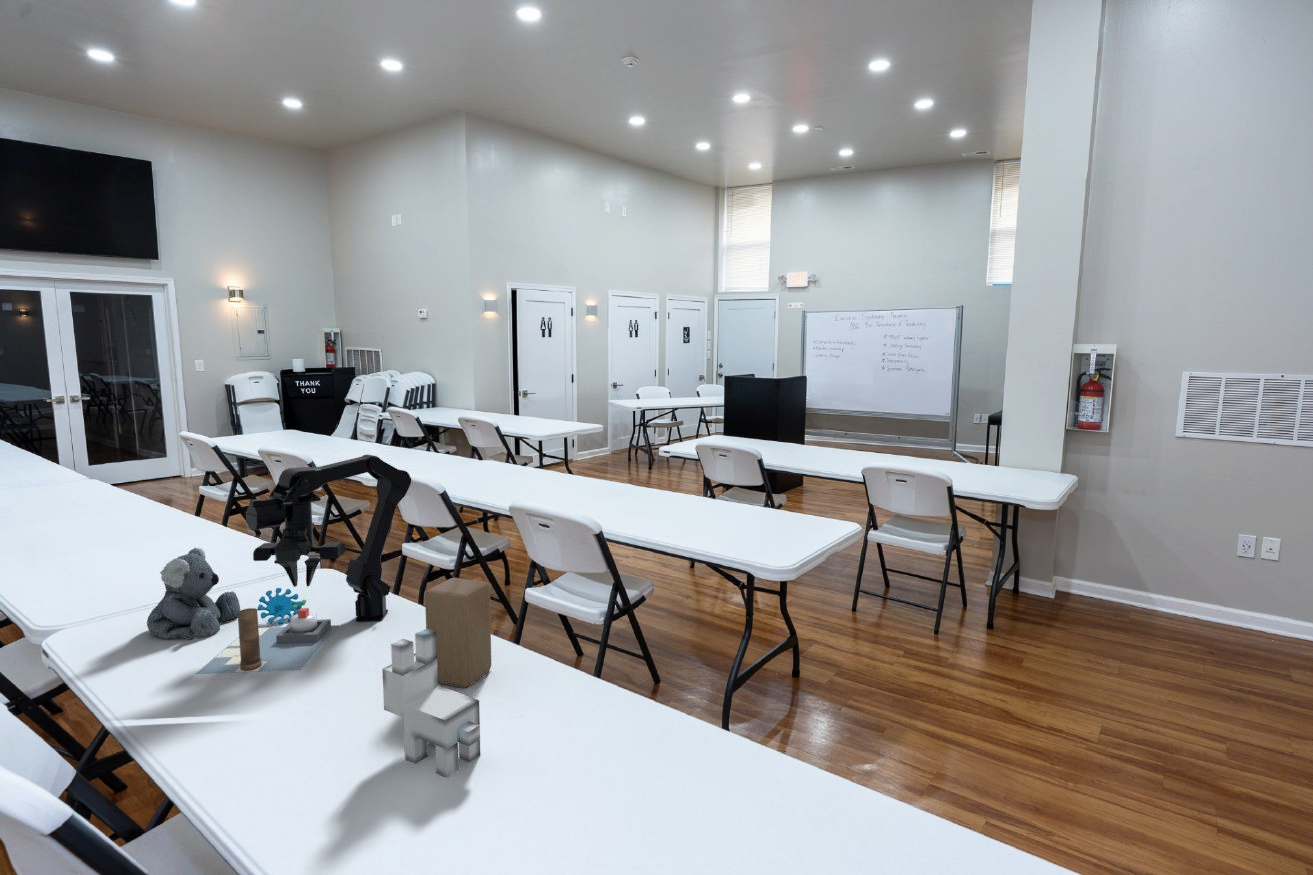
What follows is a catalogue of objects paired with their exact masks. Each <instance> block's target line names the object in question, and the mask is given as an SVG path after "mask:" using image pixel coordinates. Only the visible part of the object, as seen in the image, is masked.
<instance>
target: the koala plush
mask: <svg viewBox="0 0 1313 875" xmlns="http://www.w3.org/2000/svg"><path fill="white" fill-rule="evenodd" d="M206 558H207V557H206V552H205V550H204V549H203V548H202V547H193V549H190V550H189V551H188V553H187V554H186V553H185V554H183V555H180V556H178V557H176V558H173V559H172V560H170V561H168V563H166V564H165V565H164V566H163V569H162V570H161V571H160V572H159V574H160V575H161V576H160V579H161V581H162V582H163V584H164V588H165V591H164V592H165V593H164V596H163V598H162V599H161V600H160V601H159V602H158V604H157V605H156V606H155V607H154V608H153V609H152V610H151V611H150V613H149V615H148V617H147V619H146V627H147V629H148V630H149V632H150V633H151V635H152V636H155V637H157V638H160V639H165V640H168V639H169V640H171V639H173V638H174V639H176V638H177V639H178V638H181V639H184V640H185V639H186V640H194V639H195V638H197V639H198V638H207V637H209V636H214V635H216V634H217V633H218V632H220V629H221V627H220V626H221V625H220V623H223V622H226V621H232V620H234V619H235V618H237V619H238V612H239V611H241V604H240V600H239V598H238V596H237V594H236V592H235V591H234V590H232V591H224V592H223V593H222V594H220V595H219V596H218V597H217V599H216V601H214V600H213V599H212V598H211V597H210V596H208V595H207V594H208V593H209V592H210V591H211V590H212V589H213V588H214V586H216V585H218V583H219V582H220V577H219V575H218V574H216V573H215V572H214V570H213V568H212V566H211V565H210V564H209V562H208V561H207V560H206Z"/></svg>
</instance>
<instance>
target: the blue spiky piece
mask: <svg viewBox="0 0 1313 875" xmlns="http://www.w3.org/2000/svg"><path fill="white" fill-rule="evenodd" d="M282 590H283V589H282V588H281V587H276V589H275V591H274V592H275V595H274V596H272V594H273V591H272V590H267V591H266V592H265V595H266V597H267V598H268V599H269V600H266V597H265V596H263V595H262V596H261V597H260V598H259V599H258V602H260V603H262V604H259V605H258V606H257V608H256V609H257V612H258V611H262V612H261V613H260V618H261V619H262V620H263V619H265V618H267V617H269V616H273V617H269V618H268V620H267V622H268V623H269V624H271V625H272V624H274V622H275V621H276V619H277V618H279V617H280V618H279V620H278V622H277V624H279V625H284V624H285V616H288V617H287V621H288V622H291V620H290V619H291V617H292V616H293V614H292V612H293V613H294V615H296V614H298V611H299V610H300V609H301V608H302V607H303V606H305V604H306V603H307V600H306V599H302V600H299V595H298V593H294V594H293V595H291V593H292V590H291V589H289V588H286V590H285V592H284V593H282V594H280V593H281V592H282ZM286 595H290V596H286ZM294 600H295V601H294ZM296 600H299V601H296ZM263 604H264V605H266V606H264V605H263ZM263 611H264V612H263ZM266 611H267V612H266Z"/></svg>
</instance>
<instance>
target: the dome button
mask: <svg viewBox="0 0 1313 875" xmlns="http://www.w3.org/2000/svg"><path fill="white" fill-rule="evenodd" d="M290 620H291V621H290V622H291V630H292V631H294V632H304V631H309V630H312V629H314V628H316V627H317V620H318V614H317V613H315V612H312V611H310V608H309V607H303V608H302V607H301V609H300V610H299V611H298V614H296V615H295V614H294V615H292V617H291V619H290Z"/></svg>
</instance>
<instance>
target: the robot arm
mask: <svg viewBox="0 0 1313 875" xmlns="http://www.w3.org/2000/svg"><path fill="white" fill-rule="evenodd" d="M362 474H363V475H364V474H369V476H371V477H372V478H373V479H375V480H376V482H377V483H376V496H377V502H376V505H375V509H374V511H373V515H372V517H371V521H370V524H369V528H368V531H367V534H366V537H365V540H364V543H363V545H362V546H363V547H362V550H361V552H360V554H359V556H358V557H357V558H356V559H353V558H350V559H349V562H348V567H347V570H346V571H345V573H344V575H346V578H345V581H346V583H347V585H348V586H349V587H350V588H352V590H353V592H354V593H356V594H357V596H356V600H355V601H354V603H355V604H354V605H355V617H356V618H355V621H356V622H370V621H371V622H373V621H383V619H384V618H385V617H386V616H387V614H388V612H389V609H387V599H386V598H387V596H388V595H389V594H390V590H391V586H390V585H389V584H387V583H386V582H385V581H384V580H382V576H383V575H382V573H383V566H382V560H381V558H382V555H383V550H384V547H385V545H386V542H387V538H388V535H389V532H390V529H391V525H392V523H393V519H394V516H395V513H396V509H397V507H398V505H399V503H400V502H401V501H402V500H403V499H404V498H405V497H406V495H407V493H408V490H409V489H410V487H411V485H412V477H411V475H410V473H409V472H408V471H407V470H403V469H398V468H396V467H395V466H393V465H391V464H389V463H387V462H386V461H384V460H383V459H381V458H380V457H379V456H378V455H372V454H363V455H361V456H358V457H355V458H351V459H346V460H342V461H337V462H334V463H329V464H325V465H321V466H320V465H319V466H312V467H311V466H301V467H300V466H299V467H290V468H285V469H284V470H282V472H281V474H279V477H278V481H277V483H276V485H275V486H274V488H273V489H272V491H271V492H270V494H269V495H268V497H266V498H261V499H259V498H257V499H256V498H255V499H250V500H249V505H248V507H247V508H246V513H245V520H246V524H247V526H248V528H249V530H251V531H252V532H253V531H259V530H263V529H264V530H265V529H270V528H274V527H279V526H281V525H283V524H282V523H284V528H283V529H282V536H281V538H280V540H279V541H278V542H264V543H262V544H261V545H259V546H257V547H256V548H255V549H253V553H252V559H253V561H254V562H263V561H266V562H267V561H268V560H269V559H270V558H271V557H272V556H275V558H274V559H275V560H274V561H273V563H274V564H275V565H276V564H277V565H280V566H281V567H282V568H283V569H284V571H285V572H286V574H287V576H288V578H289V580H290V582H291V584H292V587H293V588H296V587H297V586H298V581H299V577H298V561H299V560H301V556H305V555H306V556H307V557H308V558H307V559H305V560H304V562H303V563H304V564H305V566H306V568H305V569H306V570H305V572H306V573H305V574H306V575H305V583H306V587H309V586H311V583H312V581H313V578H314V575H315V573H316V570H317V567H318V565H319V564H320V562H321V561H322V560H337V559H339V558H341V557H342V556H343V555H344V554H345V553H346V545H345V543H344V542H343V541H327V542H326V543H324V544H323V545H320V546H316V545H315V544H316V540H315V539H314V531H313V530H314V528H315V522H313V511H312V510H313V508H312V503H313V502H314V503H315V502H319V501H321V500H322V499H321V497H320V496H318V495H316V494H315V492H314V491H317V490H319V489H320V488H322V487H323V486H325V485H326V484H329V483H332V482H335V481H336V482H337V481H340V480H344V479H347V478H352V477H355V476H359V475H362ZM314 545H315V546H314Z"/></svg>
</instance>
